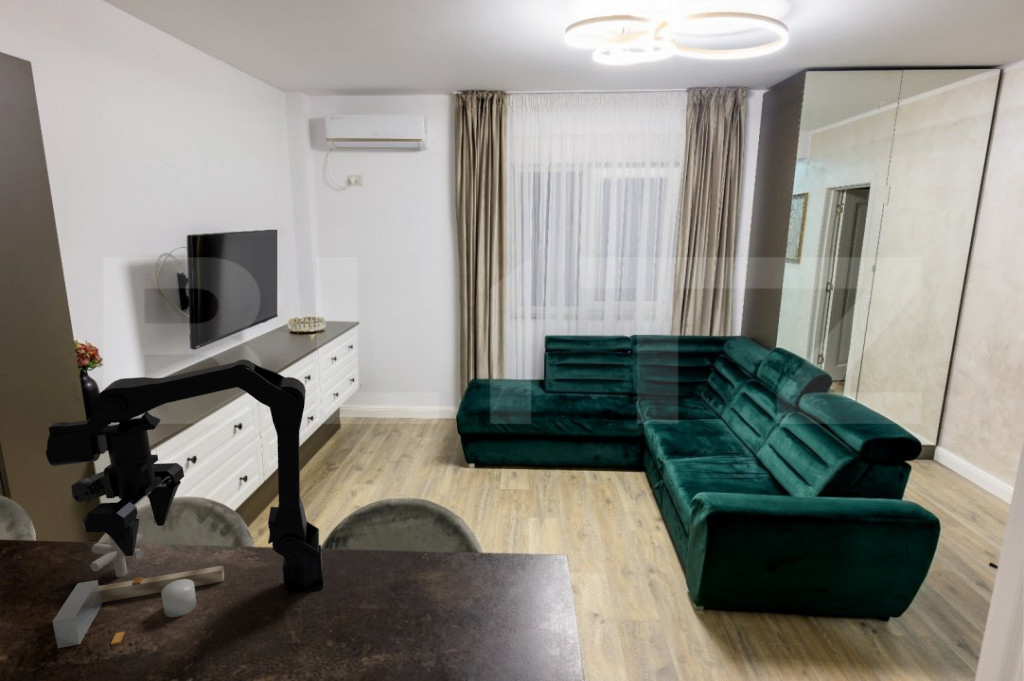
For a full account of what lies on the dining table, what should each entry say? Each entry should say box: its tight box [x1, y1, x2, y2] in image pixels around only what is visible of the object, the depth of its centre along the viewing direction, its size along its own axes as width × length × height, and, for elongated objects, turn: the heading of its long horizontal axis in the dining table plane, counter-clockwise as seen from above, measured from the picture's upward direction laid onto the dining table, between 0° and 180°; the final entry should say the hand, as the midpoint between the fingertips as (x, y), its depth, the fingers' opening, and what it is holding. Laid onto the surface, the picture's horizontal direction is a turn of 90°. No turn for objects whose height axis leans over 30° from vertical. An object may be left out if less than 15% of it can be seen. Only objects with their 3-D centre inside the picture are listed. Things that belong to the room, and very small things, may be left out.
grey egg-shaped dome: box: [160, 579, 197, 618], centre depth 101 cm, size 5×5×4 cm
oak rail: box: [99, 565, 225, 603], centre depth 105 cm, size 22×2×3 cm, turn 108°
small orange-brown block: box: [110, 631, 125, 646], centre depth 94 cm, size 1×2×1 cm, turn 18°
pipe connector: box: [89, 532, 145, 578], centre depth 109 cm, size 10×10×10 cm
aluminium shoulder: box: [52, 579, 103, 649], centre depth 96 cm, size 3×10×5 cm, turn 18°
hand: (145, 539), depth 98 cm, fingers open, 9 cm apart
